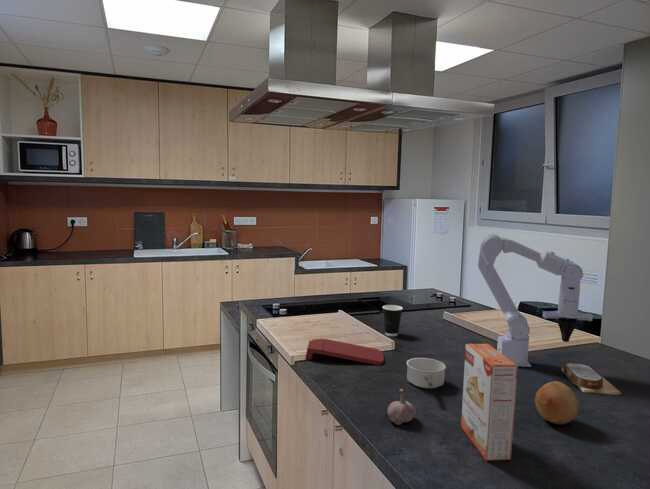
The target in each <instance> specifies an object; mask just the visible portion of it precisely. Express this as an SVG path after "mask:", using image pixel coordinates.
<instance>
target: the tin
mask: <svg viewBox="0 0 650 489" xmlns="http://www.w3.org/2000/svg"><path fill="white" fill-rule="evenodd" d="M563 368H564V373H563V374H564V375H565V376H566V377H567V379H568V380H569V381H570V382H571V383H572V384H573V385H575V386H577V387H578V386H580V387H584V388H588V389H601V388H602V387H603V378H604V377H603V376H602V375H601V374H599V372H597V371H596V369H594V368H593V367H592V366H590V365H587V364H583V363H572V362H567V363H565V364H564V366H563ZM600 375H601V376H602V377H603V378H602V377H601V376H600Z"/></svg>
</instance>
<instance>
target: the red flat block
mask: <svg viewBox="0 0 650 489" xmlns="http://www.w3.org/2000/svg"><path fill="white" fill-rule="evenodd" d="M314 354H319V355H324V356H329V357H335V358H340V359H344V360H349V361H353V362H354V361H355V362H359V363H365V364H369V365H374V366H381V365H382V364H384V362H385V358H384V353H383V352H382V351H381V350H380V349H378V348H374V347H369V346H364V345H358V344H354V343H353V344H352V343H348V342H342V341H338V340H333V339H328V338H317V339H316V338H315V339H312V340H308V345H307V349H306V354H305V360H312V359H313V355H314Z"/></svg>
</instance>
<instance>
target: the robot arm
mask: <svg viewBox="0 0 650 489" xmlns="http://www.w3.org/2000/svg"><path fill="white" fill-rule="evenodd" d="M501 252H502V253H503V254H509V253H514V254H517V255H518V256H521V257H524V258H526V259H528V260H531V261H534V262H536V265H537V267H538V268H540V269H542V270H544V271H547V272H549V273H551V274H553V275H554V276H555V275H556V276H561V279H560V284H559V293H558V294H559V295H558V305H557V306H558V307H557V310H553V311H552V310H549V311H548V310H547V311H546V310H542V318H543V319H556V323H557V325H558V327H559V331H560V335H561V341H563V343H564V342H565V343H569V341H570V338H571V336H572V334H573V332H574V331H575V329H576V327H578V324H579V321H588V322H592V321H593V317H594V316H593V315H592V313H583V312H579V303H580V292H581V280H582V279H583V278H584V272H583V269H582V267H581V266H580V265H578V264H577V263H575V262H574V261H572V260H571V261H570V259H569V258H564V257H561V256H559V255H556V253H555V252H554V251H551V250H550V251H543V252H539V251H537V250H535V249H532V248H530V247H529V246H525V245H524V244H522V243H519V241H518V242H517V241H515V240H514V239H510V238H506V237H503V236H501V237H500V236H499V235H497V234H488V235H486V236H485V237H484V239H483V241H482V243H481V245H480V247H479V255H478V263H477V267H478V269H479V271H480V273H481V275H482V277H483V279H484V280H485V282H486V284H487V286H488V288H489V289H490V290H489V291H490V292H491V293H492V296H493V297H494V300H495V301H496V302H497V305H498V306H499V308H500V310H501V312H502V313H503V316H504V319H505V320H506V321H505V322H506V323H507V326H508V331H507V332H506V333H505V335H499V336H498V338H497V344H496V345H497V348H496V350H497V351H498V352H500V353H501V354H502V355H504V356H505V357H506V358H508V359H509V360H510V361H512V362H513V363H514V364H516V365H517V366H518V367H523V368H525V367H528V368H531V367H532V365H531V363H529V362H530V361H528V359H529V357H528V355H529V348H530V336H529V335H530V332H531V331H530V330H531V328H530V326H529V324H528V319H527V318H526V317H525V316H524V315H523V314H522V313H521V312H520V311H519V310H518V308H517V306H516V305H515V302H514V301H513V299H512V296H511V295H510V294H509V292H508V290H507V288H506V286H505V285H504V282H503V280H502V279H501V277H500V275H499V274H498V272H497V269H496V267H495V266H494V264H495V262H496V260H497V257H498V256H499V255H500V254H501Z"/></svg>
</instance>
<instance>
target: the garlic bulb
mask: <svg viewBox="0 0 650 489" xmlns="http://www.w3.org/2000/svg"><path fill="white" fill-rule="evenodd" d="M398 391H399V397H400V398H399V401H398V400H396V401H392V402H391V403H390V404H389V405H388V407H387V410H386V413H387V416H388V419H389V420H390V421H391V422H393V423H394V424H395V425H398V426H400V425H402V424H403V423H408V422H411V421H412V420H413V419H414V417H415V415H416V407H415V406H414V404H412V403H411V402H408V401H406V400H405V393H404V389H403V388H400V389H399V390H398Z"/></svg>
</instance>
